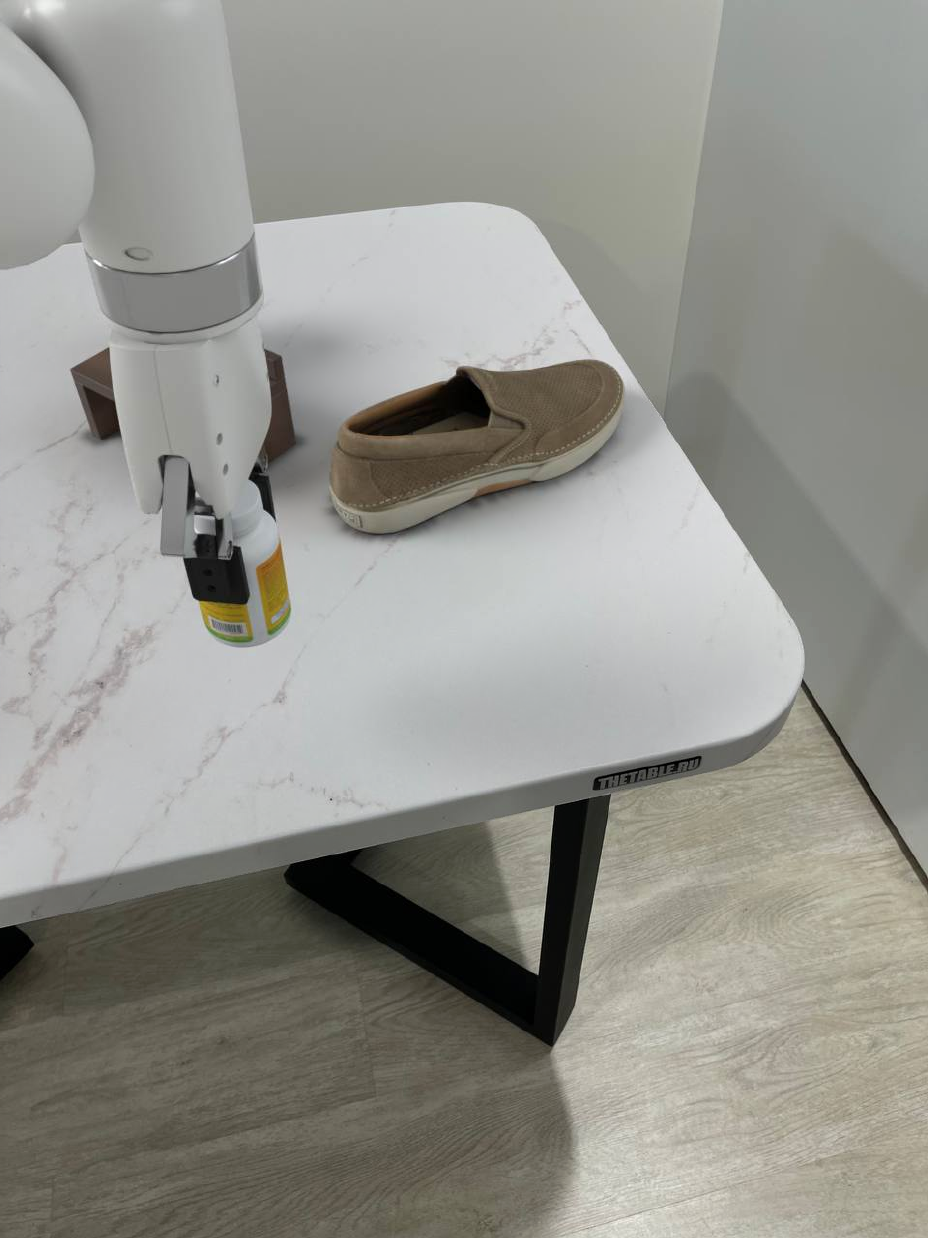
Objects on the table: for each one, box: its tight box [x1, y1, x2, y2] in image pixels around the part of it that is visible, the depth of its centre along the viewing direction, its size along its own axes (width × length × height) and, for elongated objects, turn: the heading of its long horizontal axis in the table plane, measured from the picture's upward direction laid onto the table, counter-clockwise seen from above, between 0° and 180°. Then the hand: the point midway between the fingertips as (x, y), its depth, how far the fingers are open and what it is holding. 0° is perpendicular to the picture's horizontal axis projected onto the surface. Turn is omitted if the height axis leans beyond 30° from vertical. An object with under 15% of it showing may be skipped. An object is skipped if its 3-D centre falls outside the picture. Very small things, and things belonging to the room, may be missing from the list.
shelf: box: [69, 346, 297, 464], centre depth 89 cm, size 10×16×9 cm, turn 54°
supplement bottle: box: [194, 480, 292, 649], centre depth 60 cm, size 5×5×10 cm
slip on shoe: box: [329, 358, 626, 534], centre depth 86 cm, size 30×11×9 cm, turn 121°
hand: (236, 560), depth 60 cm, fingers closed on supplement bottle, 5 cm apart
